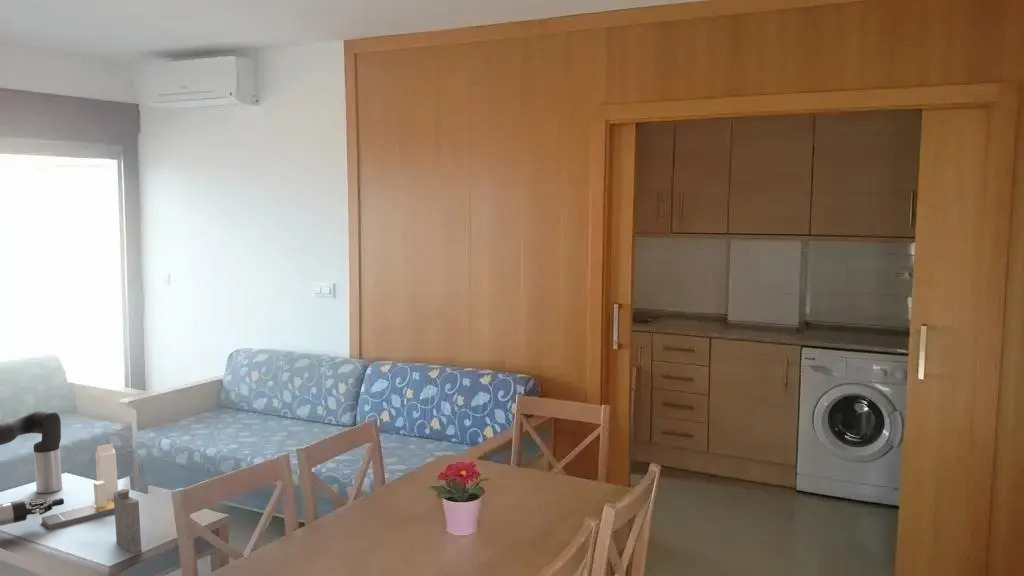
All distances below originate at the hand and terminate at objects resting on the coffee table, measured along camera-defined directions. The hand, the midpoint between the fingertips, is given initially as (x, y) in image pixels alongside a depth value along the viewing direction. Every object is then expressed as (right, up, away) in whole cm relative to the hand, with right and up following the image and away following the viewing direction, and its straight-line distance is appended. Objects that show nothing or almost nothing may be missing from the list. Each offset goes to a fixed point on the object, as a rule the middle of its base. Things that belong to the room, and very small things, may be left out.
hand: (63, 500), depth 299 cm
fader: (+9, -4, +10) cm, 14 cm away
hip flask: (+34, -10, -21) cm, 42 cm away
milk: (+4, -6, +25) cm, 26 cm away
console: (+5, -8, +6) cm, 11 cm away
